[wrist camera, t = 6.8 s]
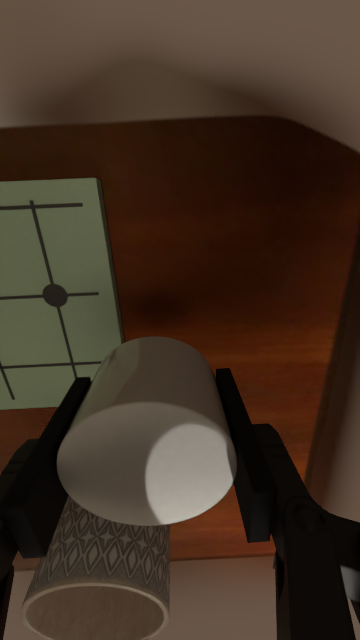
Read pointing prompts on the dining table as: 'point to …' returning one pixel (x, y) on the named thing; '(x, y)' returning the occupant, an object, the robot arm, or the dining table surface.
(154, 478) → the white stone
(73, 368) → the board
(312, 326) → the dining table surface
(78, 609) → the planter
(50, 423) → the robot arm
